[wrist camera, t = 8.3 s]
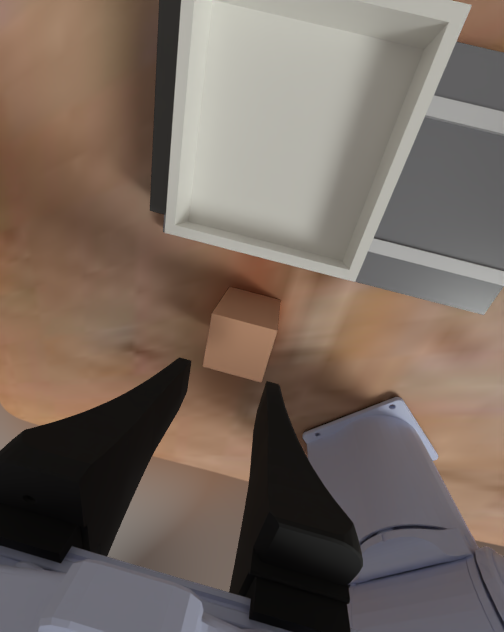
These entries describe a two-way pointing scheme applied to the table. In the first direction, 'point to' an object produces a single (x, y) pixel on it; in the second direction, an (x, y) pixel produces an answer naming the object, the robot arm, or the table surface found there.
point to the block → (242, 334)
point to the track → (410, 181)
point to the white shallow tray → (300, 121)
